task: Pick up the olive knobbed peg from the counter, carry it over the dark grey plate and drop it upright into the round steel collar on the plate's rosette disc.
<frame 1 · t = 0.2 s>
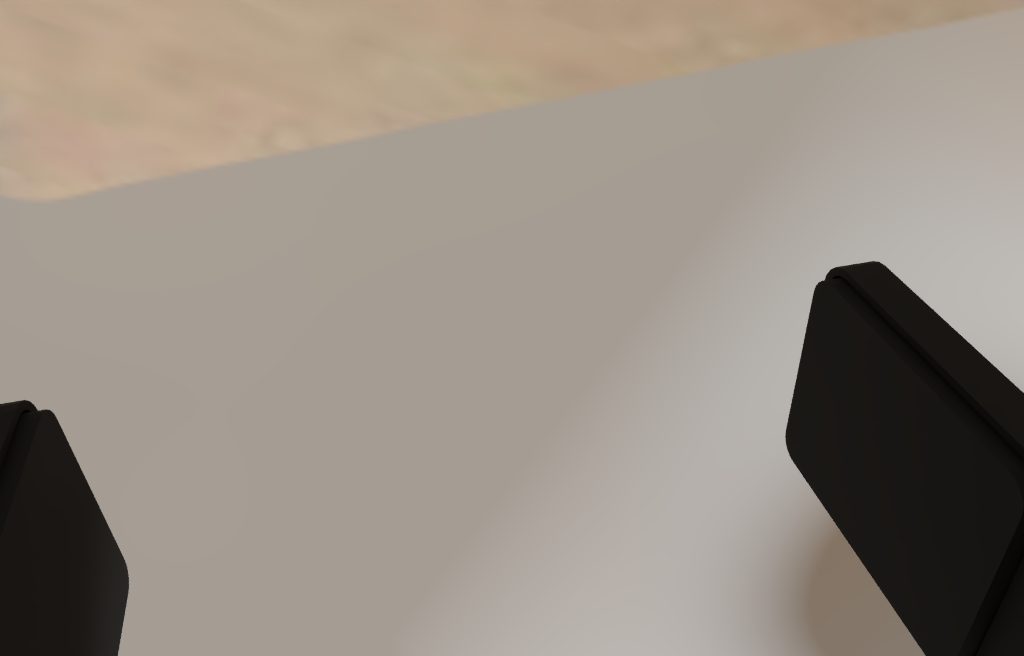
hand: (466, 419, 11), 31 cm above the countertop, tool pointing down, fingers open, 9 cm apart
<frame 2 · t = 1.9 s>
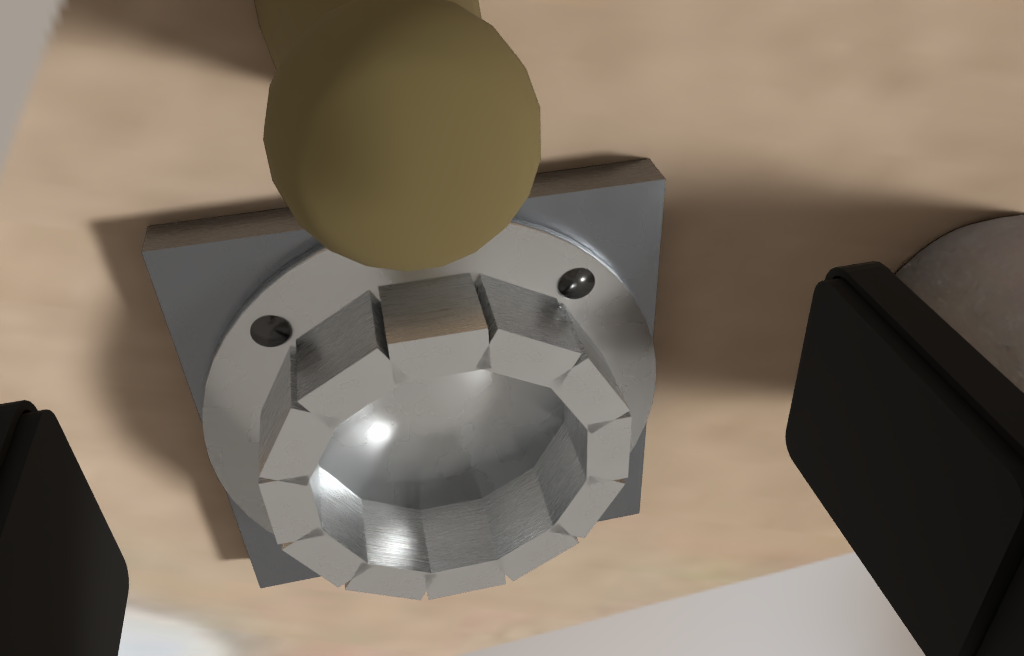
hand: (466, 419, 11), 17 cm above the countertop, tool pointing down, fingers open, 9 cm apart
pillar candle: (962, 306, 36), on the countertop
rosette plate: (433, 381, 32), on the countertop
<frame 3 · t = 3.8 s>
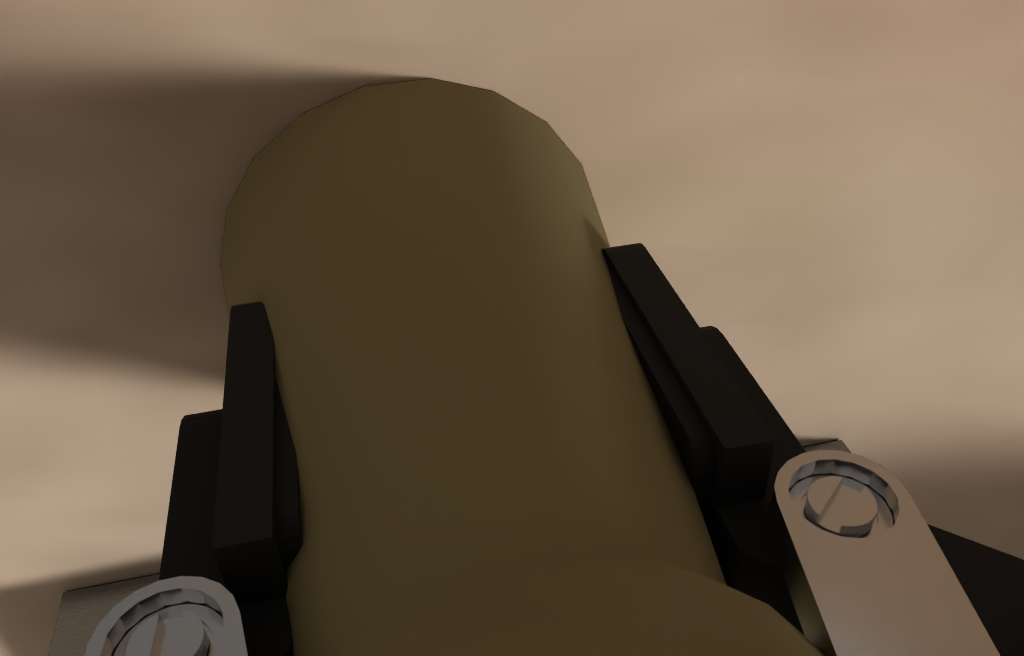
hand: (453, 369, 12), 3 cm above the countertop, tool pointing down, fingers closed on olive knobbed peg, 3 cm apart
olive knobbed peg: (417, 257, 14), on the countertop, touching gripper
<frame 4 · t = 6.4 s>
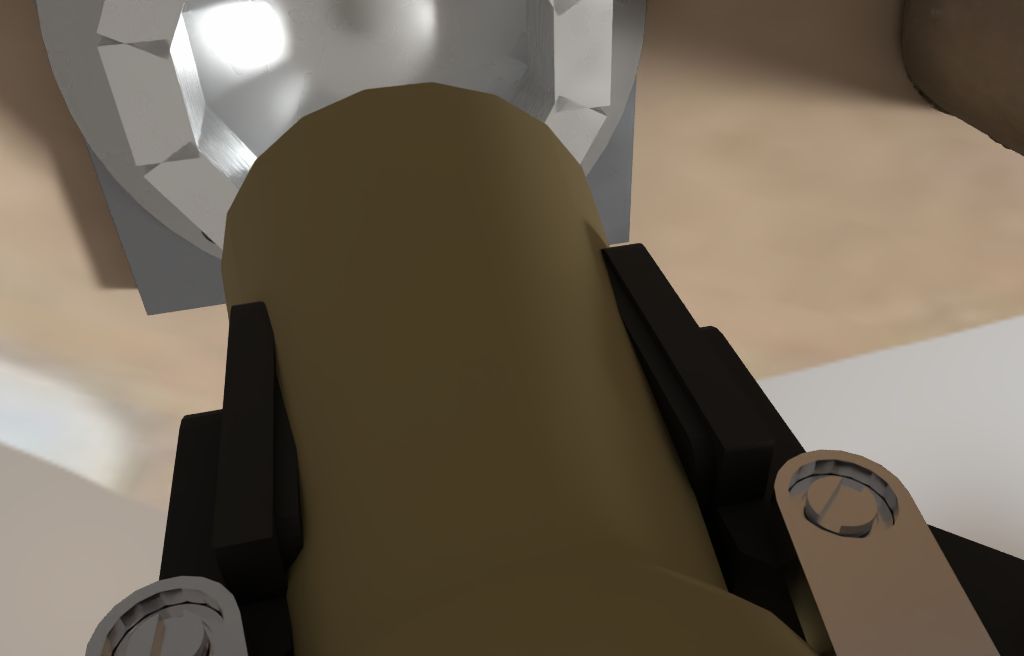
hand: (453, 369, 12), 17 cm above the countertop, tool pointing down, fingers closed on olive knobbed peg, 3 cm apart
olive knobbed peg: (417, 260, 14), point 14 cm above the countertop, touching gripper
rosette plate: (359, 18, 25), on the countertop
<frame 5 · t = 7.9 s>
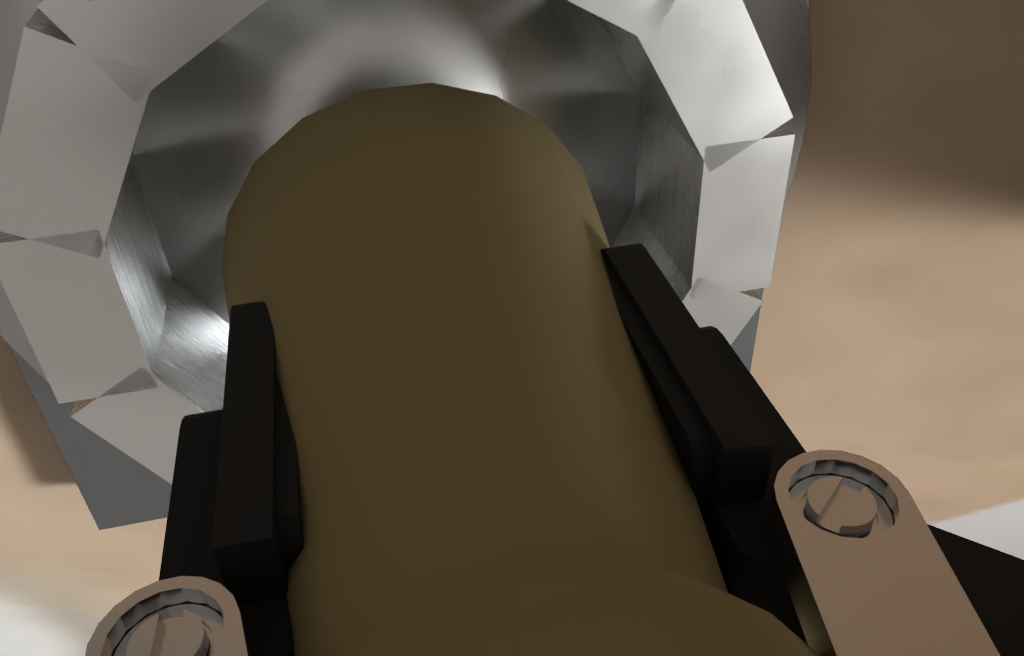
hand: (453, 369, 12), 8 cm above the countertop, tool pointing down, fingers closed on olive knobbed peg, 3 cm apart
olive knobbed peg: (417, 260, 14), point 5 cm above the countertop, touching gripper
rosette plate: (393, 138, 18), on the countertop
when the fingers open (6 cm above the countertop, at t = 8.9 s): olive knobbed peg drops 1 cm, resting on rosette plate.
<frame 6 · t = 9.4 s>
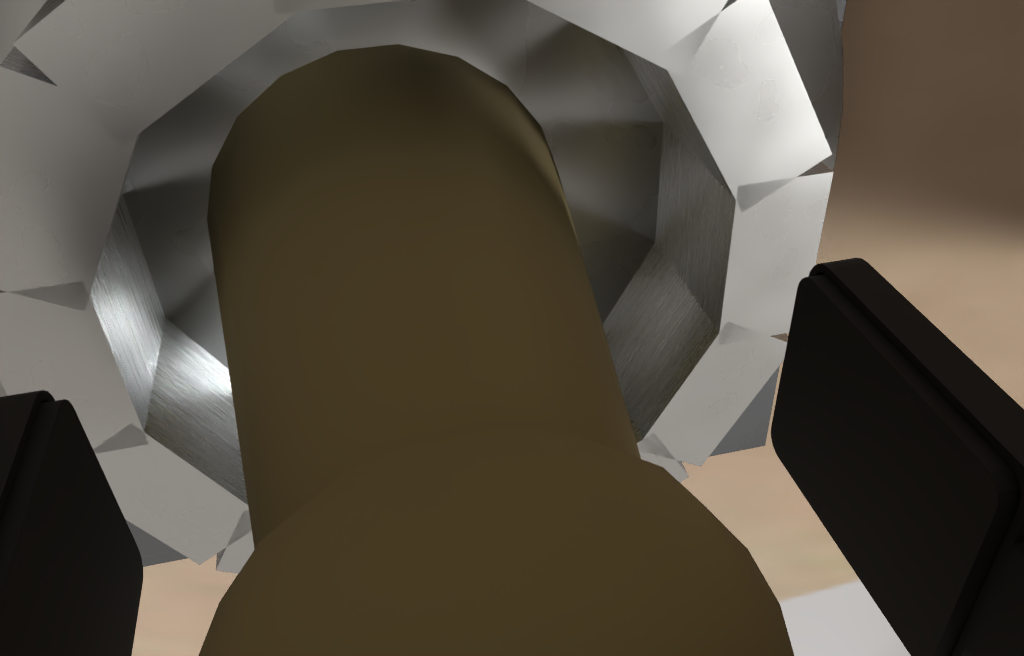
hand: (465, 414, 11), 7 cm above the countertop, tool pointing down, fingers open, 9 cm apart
olive knobbed peg: (390, 214, 15), point 2 cm above the countertop, touching rosette plate
rosette plate: (399, 168, 17), on the countertop
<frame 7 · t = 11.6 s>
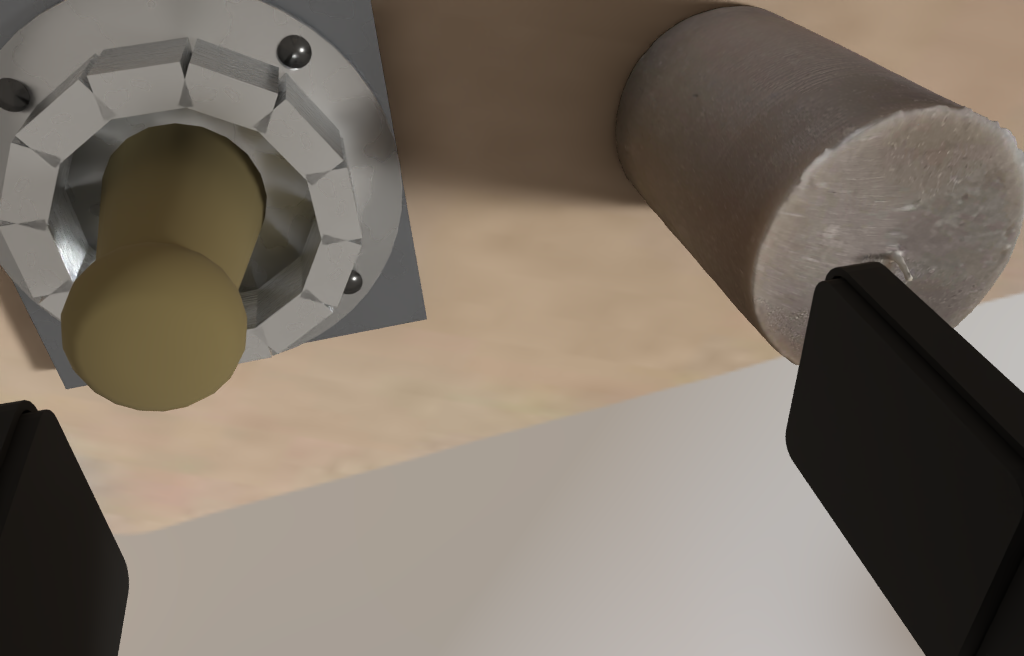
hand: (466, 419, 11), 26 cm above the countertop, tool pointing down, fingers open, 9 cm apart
olive knobbed peg: (186, 195, 34), point 2 cm above the countertop, touching rosette plate
pillar candle: (715, 109, 39), on the countertop
rosette plate: (201, 176, 35), on the countertop
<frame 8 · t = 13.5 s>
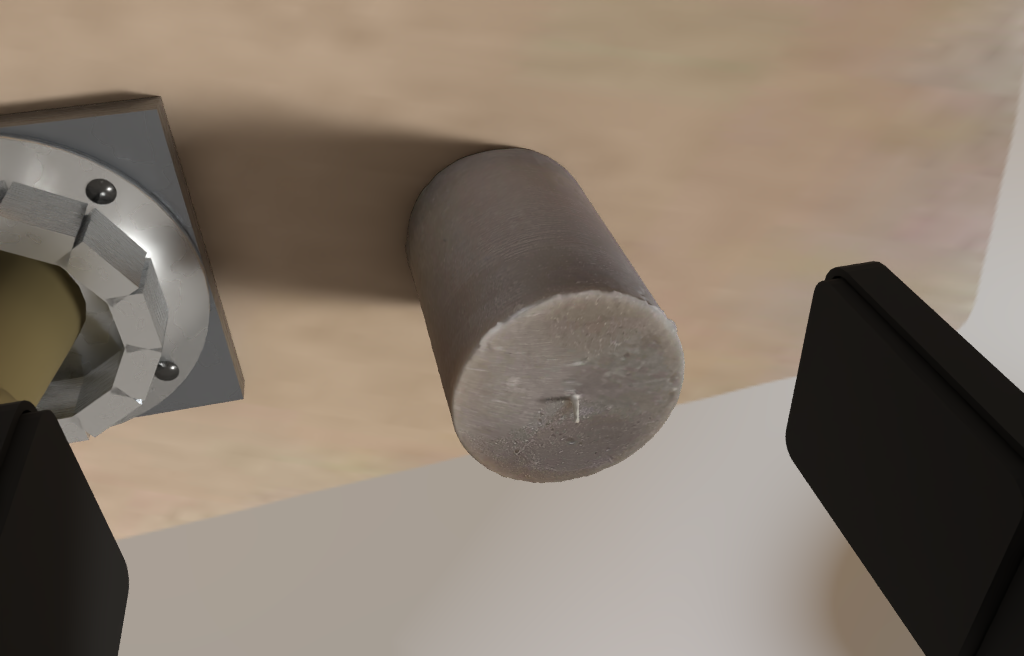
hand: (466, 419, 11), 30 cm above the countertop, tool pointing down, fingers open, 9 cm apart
olive knobbed peg: (14, 302, 39), point 2 cm above the countertop, touching rosette plate
pillar candle: (498, 227, 45), on the countertop
rosette plate: (33, 280, 41), on the countertop
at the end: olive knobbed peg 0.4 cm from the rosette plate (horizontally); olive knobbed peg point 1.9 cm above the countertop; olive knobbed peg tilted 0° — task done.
